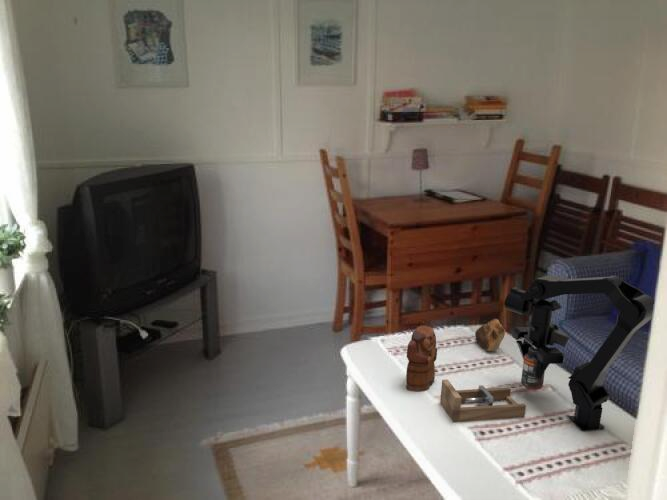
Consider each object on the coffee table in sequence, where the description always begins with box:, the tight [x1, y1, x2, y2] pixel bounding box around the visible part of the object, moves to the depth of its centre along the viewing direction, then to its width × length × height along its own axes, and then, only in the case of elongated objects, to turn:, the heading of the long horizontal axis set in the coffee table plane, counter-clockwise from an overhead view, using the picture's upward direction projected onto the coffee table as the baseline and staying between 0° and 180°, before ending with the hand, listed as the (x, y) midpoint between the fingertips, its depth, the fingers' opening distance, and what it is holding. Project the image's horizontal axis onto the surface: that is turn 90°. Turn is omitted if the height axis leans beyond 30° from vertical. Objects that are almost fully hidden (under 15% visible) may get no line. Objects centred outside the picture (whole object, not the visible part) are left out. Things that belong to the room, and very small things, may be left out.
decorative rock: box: [474, 318, 506, 352], centre depth 200 cm, size 12×6×11 cm, turn 14°
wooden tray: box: [439, 379, 527, 423], centre depth 161 cm, size 10×20×7 cm, turn 100°
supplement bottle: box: [520, 346, 546, 391], centre depth 167 cm, size 6×6×11 cm
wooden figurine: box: [405, 325, 438, 392], centre depth 172 cm, size 12×6×18 cm, turn 149°
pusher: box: [465, 385, 494, 406], centre depth 161 cm, size 7×6×5 cm
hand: (533, 372), depth 167 cm, fingers closed on supplement bottle, 6 cm apart
